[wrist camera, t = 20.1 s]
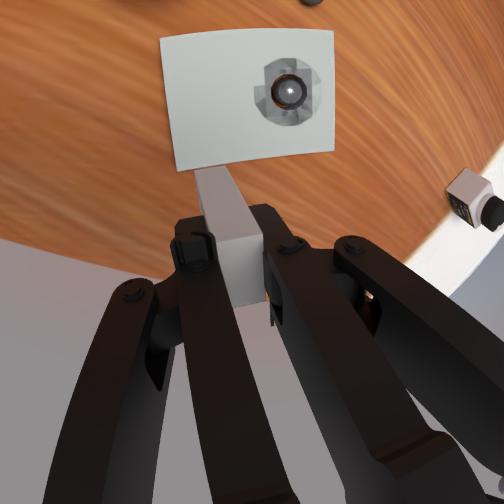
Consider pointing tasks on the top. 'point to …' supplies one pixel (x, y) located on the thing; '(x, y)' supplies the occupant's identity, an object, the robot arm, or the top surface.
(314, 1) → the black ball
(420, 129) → the top surface
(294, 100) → the steel ball
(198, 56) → the board
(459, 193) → the medicine bottle
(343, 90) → the top surface
